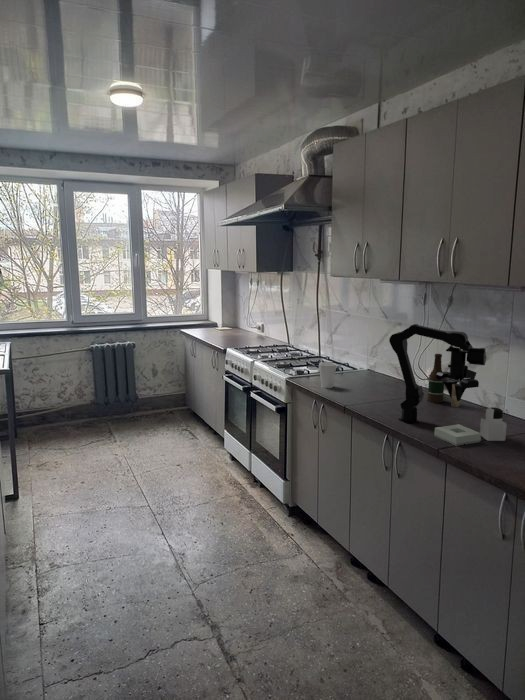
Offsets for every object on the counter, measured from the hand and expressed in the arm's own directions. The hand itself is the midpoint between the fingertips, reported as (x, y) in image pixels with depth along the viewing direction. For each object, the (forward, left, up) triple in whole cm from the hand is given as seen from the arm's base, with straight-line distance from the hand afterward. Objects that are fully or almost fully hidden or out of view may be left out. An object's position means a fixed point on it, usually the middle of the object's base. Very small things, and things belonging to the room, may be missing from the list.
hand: (455, 399), depth 211 cm
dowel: (0, 0, -2) cm, 2 cm away
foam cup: (-83, -14, -13) cm, 85 cm away
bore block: (+11, -8, -12) cm, 18 cm away
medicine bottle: (+15, +6, -13) cm, 20 cm away
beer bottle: (-37, +22, -13) cm, 45 cm away
